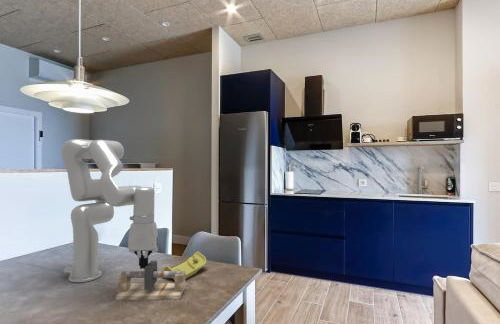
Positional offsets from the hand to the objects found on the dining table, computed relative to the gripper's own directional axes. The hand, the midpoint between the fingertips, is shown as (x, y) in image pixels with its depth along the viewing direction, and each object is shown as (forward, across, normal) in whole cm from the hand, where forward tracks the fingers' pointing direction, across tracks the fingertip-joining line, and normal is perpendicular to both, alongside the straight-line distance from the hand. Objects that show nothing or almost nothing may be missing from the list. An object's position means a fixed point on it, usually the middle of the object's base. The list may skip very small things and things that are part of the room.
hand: (143, 267), depth 110 cm
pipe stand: (+10, +3, 0) cm, 10 cm away
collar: (+7, +3, 0) cm, 7 cm away
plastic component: (+10, +12, +20) cm, 26 cm away
